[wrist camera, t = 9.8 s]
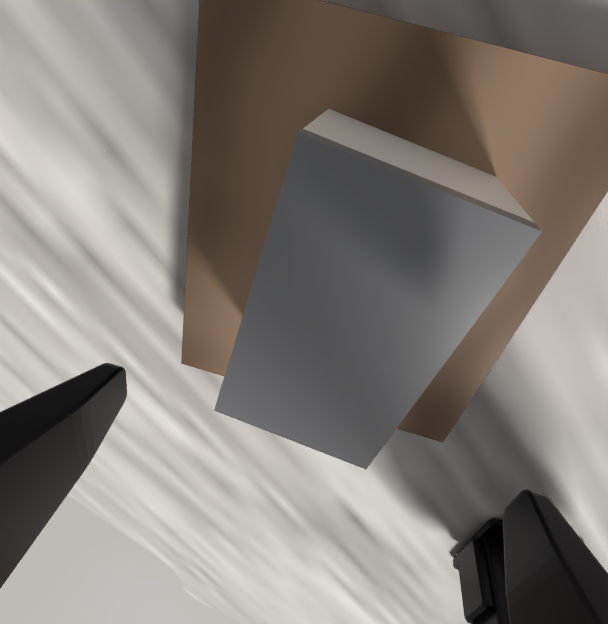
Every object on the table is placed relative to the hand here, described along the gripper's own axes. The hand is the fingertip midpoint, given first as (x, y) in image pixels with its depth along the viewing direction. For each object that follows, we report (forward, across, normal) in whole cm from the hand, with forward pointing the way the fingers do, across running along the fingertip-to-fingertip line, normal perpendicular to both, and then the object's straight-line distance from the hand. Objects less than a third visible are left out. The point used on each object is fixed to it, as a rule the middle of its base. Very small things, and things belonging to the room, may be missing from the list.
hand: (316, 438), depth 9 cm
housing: (+9, 0, 0) cm, 9 cm away
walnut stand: (+11, 0, 0) cm, 11 cm away
